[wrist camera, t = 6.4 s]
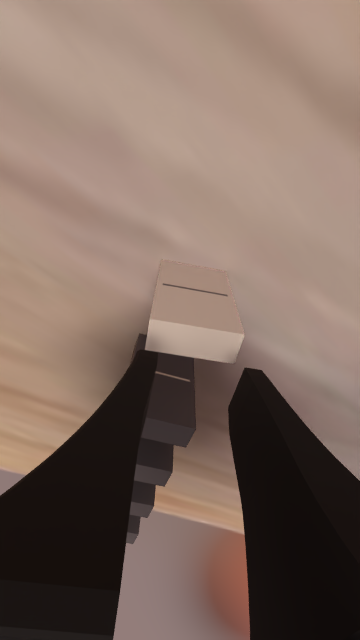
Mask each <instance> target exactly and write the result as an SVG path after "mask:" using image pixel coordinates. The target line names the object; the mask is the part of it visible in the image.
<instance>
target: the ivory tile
mask: <svg viewBox="0 0 360 640" xmlns="http://www.w3.org/2000/svg"><path fill="white" fill-rule="evenodd" d="M244 336H245V334H244V330H243V327H242V324H241V320H240V317H239V314H238V310H237V307H236V304H235V301H234V297H233V294H232V291H231V287H230V284H229V281H228V277H227V274H226V271H222V270H217V269H211V268H206V267H201V266H195V265H190V264H184V263H179V262H174V261H168V260H163V259H161V264H160V269H159V274H158V279H157V284H156V290H155V295H154V300H153V305H152V310H151V315H150V320H149V327H148V333H147V339H146V346H145V350H149V351H155V352H162V353H168V354H174V355H180V356H187V357H193V358H199V359H206V360H212V361H218V362H224V363H231V364H234V363H235V360H236V358H237V355H238V352H239V349H240V347H241V344H242V341H243V338H244Z"/></svg>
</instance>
